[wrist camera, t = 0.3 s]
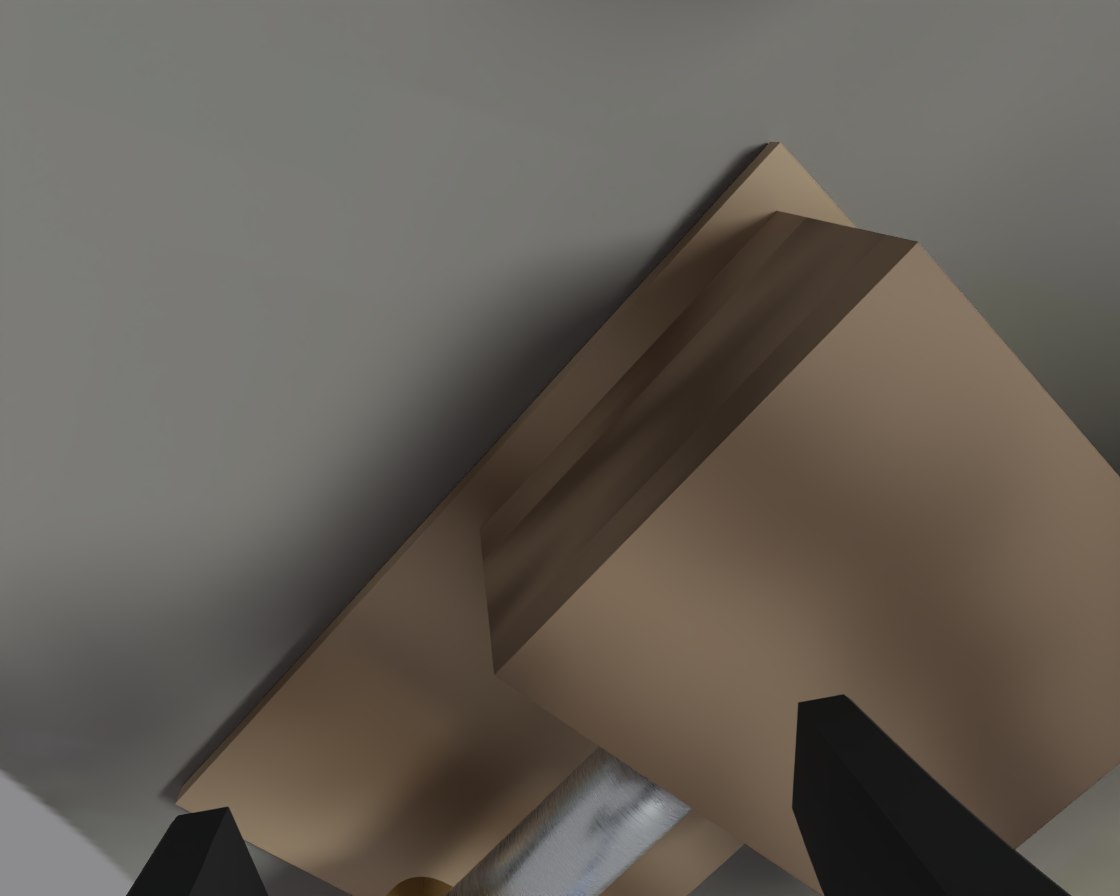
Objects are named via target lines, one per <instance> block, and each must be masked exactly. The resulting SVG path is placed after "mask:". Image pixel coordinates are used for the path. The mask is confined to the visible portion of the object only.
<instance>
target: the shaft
mask: <svg viewBox="0 0 1120 896" xmlns="http://www.w3.org/2000/svg"><path fill="white" fill-rule="evenodd" d="M691 810H692V808H691V807H689V806H688V805H686V804H685V803H683V802H682V801H680V800H679V799H677V798H676V797H675V796H673V795H672V794H670V793H669V792H667V791H666V790H664V789H663V788H661V787H660V786H658V785H657V784H655V783H654V782H652V781H651V780H649V779H648V778H646V777H645V776H643V775H642V774H640V773H639V772H637V771H636V770H634V769H633V768H631V767H630V766H628V765H627V764H625V763H624V762H622V761H621V760H619V759H618V758H616V757H615V756H613V755H612V754H610V753H609V752H607V751H606V750H604V749H603V748H602V747H600V746H599V747H598V748H597V749H596V750H595V751H594V752H593V753H592V754H590V755H589V756H588V757H587V758H586V759H585V760H584V761H583V762H582V763H581V764H580V765H579V766H578V767H577V768H576V769H575V770H574V771H573V772H572V773H571V774H570V775H569V776H568V777H567V778H566V779H565V780H564V781H563V782H561V783H560V784H559V785H558V786H557V787H556V788H555V789H554V790H553V791H552V792H551V793H550V794H549V795H548V796H547V797H546V798H545V799H544V800H543V801H542V802H541V803H540V804H539V805H538V806H537V807H536V808H535V809H534V810H532V811H531V812H530V813H529V814H528V815H527V816H526V817H525V818H524V819H523V820H522V821H521V822H520V823H519V824H518V825H517V826H516V827H515V828H514V829H513V830H512V831H511V832H510V833H509V834H508V835H507V836H506V837H505V838H503V839H502V840H501V841H500V842H499V843H498V844H497V845H496V846H495V847H494V848H493V849H492V850H491V851H490V852H489V853H488V854H487V855H486V856H485V857H484V858H483V859H482V860H481V861H480V862H479V863H478V864H477V865H476V866H474V867H473V868H472V869H471V870H470V871H469V872H468V873H467V874H466V875H465V876H464V877H463V878H462V879H461V880H460V881H459V882H458V883H457V884H456V885H455V886H454V887H452V886H451V885H449V884H447V883H445V882H443V881H440V880H437V879H434V878H429V877H413V878H409V879H406V880H403V881H402V882H400V883H399V884H397V885H396V886H395V887H394V888H393V889H392V890H391V891H390V892H389V893H388V894H387V895H386V896H599V895H600V894H601V893H602V892H603V891H604V890H605V889H606V888H607V887H608V886H610V885H611V884H612V883H613V882H614V881H615V880H616V879H617V878H618V877H619V876H620V875H621V874H623V873H624V872H625V871H626V870H627V869H628V868H629V867H630V866H631V865H632V864H633V863H635V862H636V861H637V860H638V859H639V858H640V857H641V856H642V855H643V854H644V853H645V852H647V851H648V850H649V849H650V848H651V847H652V846H653V845H654V844H655V843H656V842H657V841H658V840H660V839H661V838H662V837H663V836H664V835H665V834H666V833H667V832H668V831H669V830H670V829H672V828H673V827H674V826H675V825H676V824H677V823H678V822H679V821H680V820H681V819H682V818H684V817H685V816H686V815H687V814H688V813H689V812H690V811H691Z"/></svg>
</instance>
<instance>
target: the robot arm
mask: <svg viewBox="0 0 1120 896" xmlns="http://www.w3.org/2000/svg"><path fill="white" fill-rule="evenodd" d="M792 810H793V813H794V815H795V818H796V821H797V824H798V827H799V829H800V832H801V835H802V838H803V841H804V844H805V846H806V849H807V852H808V855H809V857H810V860H811V863H812V865H813V868H814V871H815V873H816V876H817V879H818V881H819V884H820V887H821V889H822V891H823V893H824V896H1071V895H1070V894H1068V893H1067V892H1066V891H1065V890H1063V889H1062V888H1061V887H1060V886H1058V885H1057V884H1056V883H1055V882H1053V881H1052V880H1051V879H1050V878H1048V877H1047V876H1046V875H1045V874H1043V873H1042V872H1041V871H1040V870H1038V869H1037V868H1036V867H1035V866H1034V865H1032V864H1031V863H1030V862H1029V861H1028V860H1026V859H1025V858H1024V857H1023V856H1022V855H1021V854H1019V853H1018V852H1017V851H1016V850H1015V849H1013V848H1012V847H1011V846H1010V845H1009V844H1007V843H1006V842H1005V841H1004V840H1003V839H1002V838H1000V837H999V836H998V835H997V834H996V833H995V832H994V831H992V830H991V829H990V828H989V827H988V826H987V825H986V824H984V823H983V822H982V821H981V820H980V819H979V818H978V817H976V816H975V815H974V814H973V813H972V812H971V811H970V810H968V809H967V808H966V807H965V806H964V805H963V804H962V803H960V802H959V801H958V800H957V799H956V798H955V797H954V796H953V795H952V794H950V793H949V792H948V791H947V790H946V789H945V788H944V787H943V786H942V785H940V784H939V783H938V782H937V781H936V780H935V779H934V778H933V777H932V776H931V775H930V774H929V773H927V772H926V771H925V770H924V769H923V768H922V767H921V766H920V765H919V764H918V763H917V762H916V761H915V760H914V759H912V758H911V757H910V756H909V755H908V754H907V753H906V752H905V751H904V750H903V749H902V748H901V747H900V746H899V745H898V744H897V743H896V742H895V741H893V740H892V739H891V738H890V737H889V736H888V735H887V734H886V733H885V732H884V731H883V730H882V729H881V728H880V727H879V726H878V725H877V724H876V723H875V722H874V721H873V720H872V719H871V718H870V717H869V716H868V715H867V714H866V713H864V712H863V711H862V710H861V709H860V708H859V707H858V706H857V705H856V704H855V703H854V702H853V701H852V700H851V699H850V698H848V697H847V696H846V695H844V694H842V695H836V696H831V697H825V698H820V699H814V700H809V701H803V702H798V713H797V730H796V746H795V763H794V780H793V797H792ZM126 896H268V894H267V892H266V890H265V887H264V885H263V883H262V881H261V878H260V876H259V874H258V872H257V869H256V867H255V865H254V863H253V860H252V858H251V856H250V854H249V851H248V849H247V847H246V845H245V842H244V840H243V838H242V835H241V833H240V831H239V829H238V826H237V824H236V822H235V820H234V817H233V815H232V813H231V811H230V808H229V806H228V807H222V808H217V809H211V810H206V811H200V812H195V813H189V814H184V815H178V816H177V817H176V818H175V820H174V821H173V822H172V823H171V825H170V826H169V828H168V830H167V831H166V833H165V834H164V836H163V838H162V839H161V841H160V842H159V844H158V846H157V847H156V849H155V850H154V852H153V854H152V855H151V857H150V858H149V860H148V862H147V863H146V865H145V866H144V868H143V870H142V871H141V873H140V874H139V876H138V878H137V879H136V881H135V883H134V884H133V886H132V887H131V889H130V891H129V892H128V894H127V895H126Z"/></svg>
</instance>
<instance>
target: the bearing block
mask: <svg viewBox="0 0 1120 896" xmlns="http://www.w3.org/2000/svg"><path fill="white" fill-rule="evenodd" d="M842 694H844V695H846V696H847V697H848V698H850V699H851V700H852V701H853V702H854V703H855V704H856V705H857V706H858V707H859V708H860V709H861V710H862V711H863V712H864V713H866V714H867V715H868V716H869V717H870V718H871V719H872V720H873V721H874V722H875V723H876V724H877V725H878V726H879V727H880V728H881V729H882V730H883V731H884V732H885V733H886V734H887V735H888V736H889V737H890V738H891V739H892V740H893V741H895V742H896V743H897V744H898V745H899V746H900V747H901V748H902V749H903V750H904V751H905V752H906V753H907V754H908V755H909V756H910V757H911V758H912V759H914V760H915V761H916V762H917V763H918V764H919V765H920V766H921V767H922V768H923V769H924V770H925V771H926V772H927V773H929V774H930V775H931V776H932V777H933V778H934V779H935V780H936V781H937V782H938V783H939V784H940V785H942V786H943V787H944V788H945V789H946V790H947V791H948V792H949V793H950V794H952V795H953V796H954V797H955V798H956V799H957V800H958V801H959V802H960V803H962V804H963V805H964V806H965V807H966V808H967V809H968V810H970V811H971V812H972V813H973V814H974V815H975V816H976V817H978V818H979V819H980V820H981V821H982V822H983V823H984V824H986V825H987V826H988V827H989V828H990V829H991V830H992V831H994V832H995V833H996V834H997V835H998V836H999V837H1000V838H1002V839H1003V840H1004V841H1005V842H1006V843H1007V844H1009V845H1010V846H1011V847H1012V848H1013V849H1016V848H1017V847H1019V846H1020V845H1021V844H1022V843H1023V842H1025V841H1026V840H1027V839H1028V838H1030V837H1031V836H1032V835H1033V834H1034V833H1036V832H1037V831H1038V830H1039V829H1040V828H1042V827H1043V826H1044V825H1045V824H1046V823H1048V822H1049V821H1050V820H1051V819H1053V818H1054V817H1055V816H1056V815H1057V814H1059V813H1060V812H1061V811H1062V810H1063V809H1065V808H1066V807H1067V806H1068V805H1070V804H1071V803H1072V802H1073V801H1074V800H1076V799H1077V798H1078V797H1079V796H1080V795H1082V794H1083V793H1084V792H1085V791H1086V790H1088V789H1089V788H1090V787H1091V786H1093V785H1094V784H1095V783H1096V782H1097V781H1099V780H1100V779H1101V778H1102V777H1103V776H1105V775H1106V774H1107V773H1108V772H1109V771H1111V770H1112V769H1113V768H1114V767H1116V766H1117V765H1118V764H1119V763H1120V477H1119V475H1118V474H1117V473H1116V472H1115V471H1114V470H1113V468H1112V467H1111V466H1110V465H1109V464H1108V463H1107V461H1106V460H1105V459H1104V458H1103V457H1102V456H1101V454H1100V453H1099V452H1098V451H1097V450H1096V449H1095V447H1094V446H1093V445H1092V444H1091V443H1090V442H1089V440H1088V439H1087V438H1086V437H1085V436H1084V435H1083V433H1082V432H1081V431H1080V430H1079V429H1078V428H1077V426H1076V425H1075V424H1074V423H1073V422H1072V421H1071V419H1070V418H1069V417H1068V416H1067V415H1066V414H1065V412H1064V411H1063V410H1062V409H1061V408H1060V407H1059V405H1058V404H1057V403H1056V402H1055V401H1054V400H1053V398H1052V397H1051V396H1050V395H1049V394H1048V393H1047V391H1046V390H1045V389H1044V388H1043V387H1042V386H1041V384H1040V383H1039V382H1038V381H1037V380H1036V379H1035V377H1034V376H1033V375H1032V374H1031V373H1030V372H1029V370H1028V369H1027V368H1026V367H1025V366H1024V365H1023V364H1022V362H1021V361H1020V360H1019V359H1018V358H1017V357H1016V355H1015V354H1014V353H1013V352H1012V351H1011V350H1010V348H1009V347H1008V346H1007V345H1006V344H1005V343H1004V341H1003V340H1002V339H1001V338H1000V337H999V336H998V334H997V333H996V332H995V331H994V330H993V329H992V327H991V326H990V325H989V324H988V323H987V322H986V320H985V319H984V318H983V317H982V316H981V315H980V313H979V312H978V311H977V310H976V309H975V308H974V306H973V305H972V304H971V303H970V302H969V301H968V299H967V298H966V297H965V296H964V295H963V294H962V292H961V291H960V290H959V289H958V288H957V287H956V285H955V284H954V283H953V282H952V281H951V280H950V278H949V277H948V276H947V275H946V274H945V273H944V271H943V270H942V269H941V268H940V267H939V266H938V264H937V263H936V262H935V261H934V260H933V259H932V257H931V256H930V255H929V254H928V253H927V252H926V250H925V249H924V248H923V247H922V246H921V245H920V243H919V242H916V241H911V240H907V239H902V238H898V237H893V236H889V235H884V234H880V233H875V232H871V231H866V230H862V229H857V228H856V227H855V226H854V225H853V223H852V222H851V221H850V220H849V219H848V218H847V217H846V216H845V214H844V213H843V212H842V211H841V210H840V209H839V208H838V207H837V205H836V204H835V203H834V202H833V201H832V200H831V199H830V198H829V196H828V195H827V194H826V193H825V192H824V191H823V190H822V188H821V187H820V186H819V185H818V184H817V183H816V182H815V181H814V179H813V178H812V177H811V176H810V175H809V174H808V173H807V172H806V170H805V169H804V168H803V167H802V166H801V165H800V164H799V163H798V161H797V160H796V159H795V158H794V157H793V156H792V155H791V154H790V152H789V151H788V150H787V149H786V148H785V147H784V146H783V145H782V143H781V142H770V143H769V144H768V145H767V146H766V147H765V148H764V149H763V150H762V151H761V153H760V154H759V155H758V156H757V157H756V158H755V159H754V160H753V161H752V162H751V163H750V165H749V166H748V167H747V168H746V169H745V170H744V171H743V172H742V173H741V174H740V176H739V177H738V178H737V179H736V180H735V181H734V182H733V183H732V184H731V185H730V187H729V188H728V189H727V190H726V191H725V192H724V193H723V194H722V195H721V196H720V197H719V199H718V200H717V201H716V202H715V203H714V204H713V205H712V206H711V207H710V208H709V210H708V211H707V212H706V213H705V214H704V215H703V216H702V217H701V218H700V219H699V221H698V222H697V223H696V224H695V225H694V226H693V227H692V228H691V229H690V230H689V231H688V233H687V234H686V235H685V236H684V237H683V238H682V239H681V240H680V241H679V242H678V244H677V245H676V246H675V247H674V248H673V249H672V250H671V251H670V252H669V253H668V255H667V256H666V257H665V258H664V259H663V260H662V261H661V262H660V263H659V264H658V265H657V267H656V268H655V269H654V270H653V271H652V272H651V273H650V274H649V275H648V276H647V278H646V279H645V280H644V281H643V282H642V283H641V284H640V285H639V286H638V287H637V288H636V290H635V291H634V292H633V293H632V294H631V295H630V296H629V297H628V298H627V299H626V301H625V302H624V303H623V304H622V305H621V306H620V307H619V308H618V309H617V310H616V312H615V313H614V314H613V315H612V316H611V317H610V318H609V319H608V320H607V321H606V322H605V324H604V325H603V326H602V327H601V328H600V329H599V330H598V331H597V332H596V333H595V335H594V336H593V337H592V338H591V339H590V340H589V341H588V342H587V343H586V344H585V346H584V347H583V348H582V349H581V350H580V351H579V352H578V353H577V354H576V355H575V356H574V358H573V359H572V360H571V361H570V362H569V363H568V364H567V365H566V366H565V367H564V369H563V370H562V371H561V372H560V373H559V374H558V375H557V376H556V377H555V378H554V380H553V381H552V382H551V383H550V384H549V385H548V386H547V387H546V388H545V389H544V390H543V392H542V393H541V394H540V395H539V396H538V397H537V398H536V399H535V400H534V401H533V403H532V404H531V405H530V406H529V407H528V408H527V409H526V410H525V411H524V412H523V413H522V415H521V416H520V417H519V418H518V419H517V420H516V421H515V422H514V423H513V424H512V426H511V427H510V428H509V429H508V430H507V431H506V432H505V433H504V434H503V435H502V437H501V438H500V439H499V440H498V441H497V442H496V443H495V444H494V445H493V446H492V447H491V449H490V450H489V451H488V452H487V453H486V454H485V455H484V456H483V457H482V458H481V460H480V461H479V462H478V463H477V464H476V465H475V466H474V467H473V468H472V469H471V471H470V472H469V473H468V474H467V475H466V476H465V477H464V478H463V479H462V480H461V481H460V483H459V484H458V485H457V486H456V487H455V488H454V489H453V490H452V491H451V492H450V494H449V495H448V496H447V497H446V498H445V499H444V500H443V501H442V502H441V503H440V505H439V506H438V507H437V508H436V509H435V510H434V511H433V512H432V513H431V514H430V515H429V517H428V518H427V519H426V520H425V521H424V522H423V523H422V524H421V525H420V526H419V528H418V529H417V530H416V531H415V532H414V533H413V534H412V535H411V536H410V537H409V538H408V540H407V541H406V542H405V543H404V544H403V545H402V546H401V547H400V548H399V549H398V551H397V552H396V553H395V554H394V555H393V556H392V557H391V558H390V559H389V560H388V562H387V563H386V564H385V565H384V566H383V567H382V568H381V569H380V570H379V571H378V572H377V574H376V575H375V576H374V577H373V578H372V579H371V580H370V581H369V582H368V583H367V585H366V586H365V587H364V588H363V589H362V590H361V591H360V592H359V593H358V594H357V596H356V597H355V598H354V599H353V600H352V601H351V602H350V603H349V604H348V605H347V606H346V608H345V609H344V610H343V611H342V612H341V613H340V614H339V615H338V616H337V617H336V619H335V620H334V621H333V622H332V623H331V624H330V625H329V626H328V627H327V628H326V629H325V631H324V632H323V633H322V634H321V635H320V636H319V637H318V638H317V639H316V640H315V642H314V643H313V644H312V645H311V646H310V647H309V648H308V649H307V650H306V651H305V653H304V654H303V655H302V656H301V657H300V658H299V659H298V660H297V661H296V662H295V663H294V665H293V666H292V667H291V668H290V669H289V670H288V671H287V672H286V673H285V674H284V676H283V677H282V678H281V679H280V680H279V681H278V682H277V683H276V684H275V685H274V687H273V688H272V689H271V690H270V691H269V692H268V693H267V694H266V695H265V696H264V697H263V699H262V700H261V701H260V702H259V703H258V704H257V705H256V706H255V707H254V708H253V710H252V711H251V712H250V713H249V714H248V715H247V716H246V717H245V718H244V719H243V721H242V722H241V723H240V724H239V725H238V726H237V727H236V728H235V729H234V730H233V731H232V733H231V734H230V735H229V736H228V737H227V738H226V739H225V740H224V741H223V742H222V744H221V745H220V746H219V747H218V748H217V749H216V750H215V751H214V752H213V753H212V754H211V756H210V757H209V758H208V759H207V760H206V761H205V762H204V763H203V764H202V765H201V767H200V768H199V769H198V770H197V771H196V772H195V773H194V774H193V775H192V776H191V778H190V779H189V780H188V781H187V782H186V783H185V784H184V785H183V786H182V788H181V790H180V793H179V795H178V798H177V800H176V803H175V804H176V805H178V806H180V807H181V808H183V809H185V810H187V811H189V812H191V813H195V812H200V811H206V810H211V809H217V808H222V807H228V806H229V808H230V811H231V813H232V815H233V817H234V820H235V822H236V824H237V826H238V829H239V831H240V833H241V835H242V838H243V839H244V840H246V841H248V842H249V843H251V844H253V845H255V846H257V847H259V848H261V849H263V850H265V851H267V852H269V853H271V854H273V855H275V856H277V857H279V858H281V859H282V860H284V861H286V862H288V863H290V864H292V865H294V866H296V867H298V868H300V869H302V870H304V871H306V872H308V873H310V874H312V875H314V876H315V877H317V878H319V879H321V880H323V881H325V882H327V883H329V884H331V885H333V886H335V887H337V888H339V889H341V890H343V891H345V892H347V893H349V894H350V895H352V896H386V895H387V894H388V893H389V892H390V891H391V890H392V889H393V888H394V887H395V886H396V885H397V884H399V883H400V882H402V881H403V880H406V879H409V878H413V877H429V878H434V879H437V880H440V881H443V882H445V883H447V884H449V885H451V886H452V887H454V886H455V885H456V884H457V883H458V882H459V881H460V880H461V879H462V878H463V877H464V876H465V875H466V874H467V873H468V872H469V871H470V870H471V869H472V868H473V867H474V866H476V865H477V864H478V863H479V862H480V861H481V860H482V859H483V858H484V857H485V856H486V855H487V854H488V853H489V852H490V851H491V850H492V849H493V848H494V847H495V846H496V845H497V844H498V843H499V842H500V841H501V840H502V839H503V838H505V837H506V836H507V835H508V834H509V833H510V832H511V831H512V830H513V829H514V828H515V827H516V826H517V825H518V824H519V823H520V822H521V821H522V820H523V819H524V818H525V817H526V816H527V815H528V814H529V813H530V812H531V811H532V810H534V809H535V808H536V807H537V806H538V805H539V804H540V803H541V802H542V801H543V800H544V799H545V798H546V797H547V796H548V795H549V794H550V793H551V792H552V791H553V790H554V789H555V788H556V787H557V786H558V785H559V784H560V783H561V782H563V781H564V780H565V779H566V778H567V777H568V776H569V775H570V774H571V773H572V772H573V771H574V770H575V769H576V768H577V767H578V766H579V765H580V764H581V763H582V762H583V761H584V760H585V759H586V758H587V757H588V756H589V755H590V754H592V753H593V752H594V751H595V750H596V749H597V748H598V747H599V746H600V747H602V748H603V749H604V750H606V751H607V752H609V753H610V754H612V755H613V756H615V757H616V758H618V759H619V760H621V761H622V762H624V763H625V764H627V765H628V766H630V767H631V768H633V769H634V770H636V771H637V772H639V773H640V774H642V775H643V776H645V777H646V778H648V779H649V780H651V781H652V782H654V783H655V784H657V785H658V786H660V787H661V788H663V789H664V790H666V791H667V792H669V793H670V794H672V795H673V796H675V797H676V798H677V799H679V800H680V801H682V802H683V803H685V804H686V805H688V806H689V807H691V808H692V810H691V811H690V812H689V813H688V814H687V815H686V816H685V817H684V818H682V819H681V820H680V821H679V822H678V823H677V824H676V825H675V826H674V827H673V828H672V829H670V830H669V831H668V832H667V833H666V834H665V835H664V836H663V837H662V838H661V839H660V840H658V841H657V842H656V843H655V844H654V845H653V846H652V847H651V848H650V849H649V850H648V851H647V852H645V853H644V854H643V855H642V856H641V857H640V858H639V859H638V860H637V861H636V862H635V863H633V864H632V865H631V866H630V867H629V868H628V869H627V870H626V871H625V872H624V873H623V874H621V875H620V876H619V877H618V878H617V879H616V880H615V881H614V882H613V883H612V884H611V885H610V886H608V887H607V888H606V889H605V890H604V891H603V892H602V893H601V894H600V895H599V896H687V895H688V894H689V893H691V892H692V891H693V890H694V889H695V888H696V887H697V886H698V885H700V884H701V883H702V882H703V881H704V880H705V879H706V878H707V877H708V876H710V875H711V874H712V873H713V872H714V871H715V870H716V869H717V868H719V867H720V866H721V865H722V864H723V863H724V862H725V861H726V860H728V859H729V858H730V857H731V856H732V855H733V854H734V853H735V852H736V851H738V850H739V849H740V848H741V847H742V846H743V845H744V844H746V845H748V846H749V847H750V848H752V849H753V850H755V851H756V852H758V853H759V854H761V855H762V856H764V857H765V858H767V859H768V860H770V861H771V862H773V863H774V864H776V865H777V866H779V867H780V868H782V869H783V870H785V871H786V872H788V873H789V874H791V875H792V876H794V877H795V878H797V879H798V880H800V881H801V882H803V883H804V884H806V885H807V886H809V887H810V888H812V889H813V890H815V891H816V892H818V893H819V894H821V895H822V896H824V893H823V891H822V889H821V887H820V884H819V881H818V879H817V876H816V873H815V871H814V868H813V865H812V863H811V860H810V857H809V855H808V852H807V849H806V846H805V844H804V841H803V838H802V835H801V832H800V829H799V827H798V824H797V821H796V818H795V815H794V813H793V810H792V797H793V780H794V763H795V746H796V730H797V713H798V702H803V701H809V700H814V699H820V698H825V697H831V696H836V695H842Z"/></svg>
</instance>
